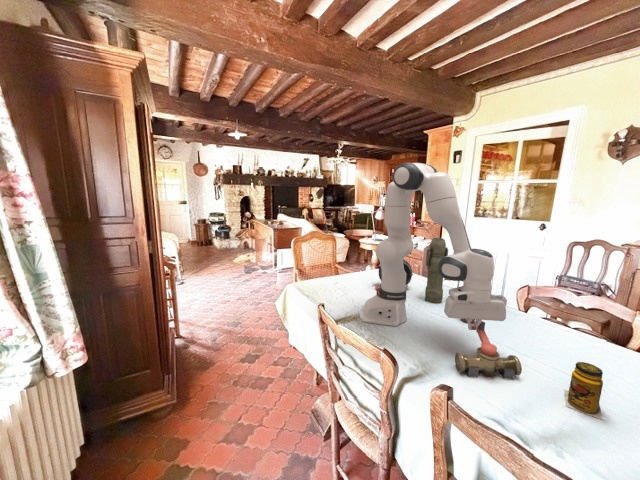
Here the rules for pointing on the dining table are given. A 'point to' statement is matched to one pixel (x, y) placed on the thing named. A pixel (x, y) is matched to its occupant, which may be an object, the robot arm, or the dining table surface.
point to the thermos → (435, 270)
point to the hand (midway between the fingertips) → (472, 329)
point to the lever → (485, 341)
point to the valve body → (488, 365)
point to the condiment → (585, 389)
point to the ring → (407, 270)
